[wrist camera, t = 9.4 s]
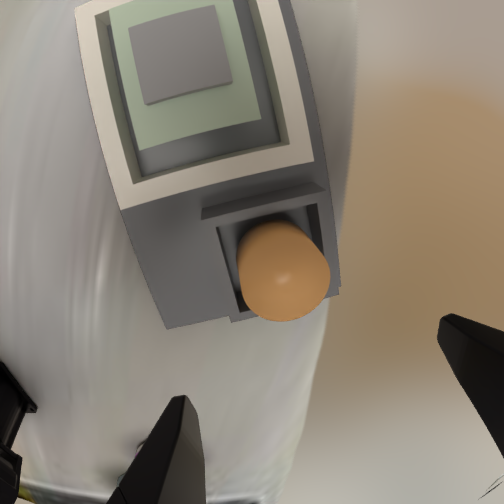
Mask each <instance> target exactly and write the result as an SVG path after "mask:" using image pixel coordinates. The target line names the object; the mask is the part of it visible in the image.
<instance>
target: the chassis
mask: <svg viewBox="0 0 504 504" xmlns="http://www.w3.org/2000/svg"><path fill="white" fill-rule="evenodd" d="M130 1H133V0H92V1H90V2H87V3H85V4H83V5H81V6H79V7H76V8H74V10H75V21H76V28H77V35H78V42H79V48H80V54H81V60H82V65H83V71H84V76H85V81H86V86H87V91H88V95H89V100H90V104H91V109H92V113H93V117H94V121H95V126H96V130H97V133H98V137H99V141H100V145H101V149H102V152H103V156H104V159H105V163H106V166H107V170H108V173H109V177H110V180H111V183H112V186H113V190H114V193H115V196H116V199H117V202H118V205H119V208H120V211H121V214H122V217H123V220H124V223H125V226H126V229H127V232H128V235H129V237H130V240H131V243H132V246H133V248H134V251H135V254H136V256H137V259H138V262H139V264H140V267H141V269H142V272H143V275H144V277H145V280H146V282H147V285H148V287H149V289H150V292H151V294H152V297H153V299H154V302H155V304H156V306H157V309H158V311H159V313H160V315H161V318H162V320H163V322H164V325H165V327H166V329H171V328H176V327H181V326H185V325H190V324H195V323H199V322H204V321H208V320H212V319H217V318H221V317H225V316H229V317H230V321H231V323H232V322H236V321H241V320H245V319H249V318H253V317H257V316H258V315H257V314H255V313H254V312H253V311H252V310H251V309H250V308H249V307H248V306H247V304H246V302H245V301H244V298H243V295H242V290H241V285H240V279H239V274H238V268H237V263H236V252H237V248H238V245H239V242H240V241H241V239H242V237H243V236H244V235H245V233H246V232H247V231H248V230H250V229H251V228H252V227H254V226H255V225H257V224H259V223H261V222H264V221H267V220H275V219H279V220H286V221H289V222H292V223H294V224H296V225H297V226H299V227H300V228H301V229H302V230H303V231H304V232H305V233H306V235H307V236H308V237H309V238H310V239H311V241H312V242H313V243H314V244H315V246H316V247H317V248H318V249H319V251H320V252H321V253H322V254H323V256H324V257H325V259H326V261H327V262H328V265H329V269H330V284H329V288H328V290H327V293H326V295H325V297H324V298H323V299H325V298H328V297H331V296H335V295H338V294H339V290H338V287H340V286H341V281H340V270H339V259H338V249H337V240H336V231H335V222H334V214H333V207H332V199H331V192H330V185H329V178H328V172H327V166H326V159H325V153H324V147H323V142H322V136H321V131H320V125H319V120H318V115H317V110H316V105H315V100H314V95H313V90H312V86H311V81H310V76H309V72H308V68H307V63H306V59H305V55H304V51H303V47H302V43H301V39H300V35H299V31H298V27H297V24H296V20H295V16H294V13H293V9H292V6H291V2H290V0H233V4H234V7H235V11H236V15H237V19H238V23H239V27H240V31H241V35H242V39H243V43H244V47H245V51H246V55H247V59H248V63H249V68H250V72H251V76H252V80H253V85H254V89H255V93H256V98H257V102H258V106H259V111H260V115H261V119H259V120H254V121H249V122H244V123H240V124H235V125H231V126H226V127H222V128H218V129H214V130H210V131H206V132H202V133H198V134H194V135H191V136H187V137H183V138H180V139H176V140H173V141H169V142H166V143H162V144H159V145H156V146H153V147H149V148H146V149H143V150H140V151H139V147H138V144H137V140H136V136H135V132H134V128H133V124H132V120H131V116H130V112H129V108H128V104H127V100H126V95H125V91H124V87H123V82H122V78H121V73H120V68H119V63H118V58H117V53H116V48H115V43H114V38H113V32H112V26H111V21H110V15H109V9H111V8H114V7H116V6H119V5H122V4H125V3H127V2H130Z"/></svg>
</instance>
